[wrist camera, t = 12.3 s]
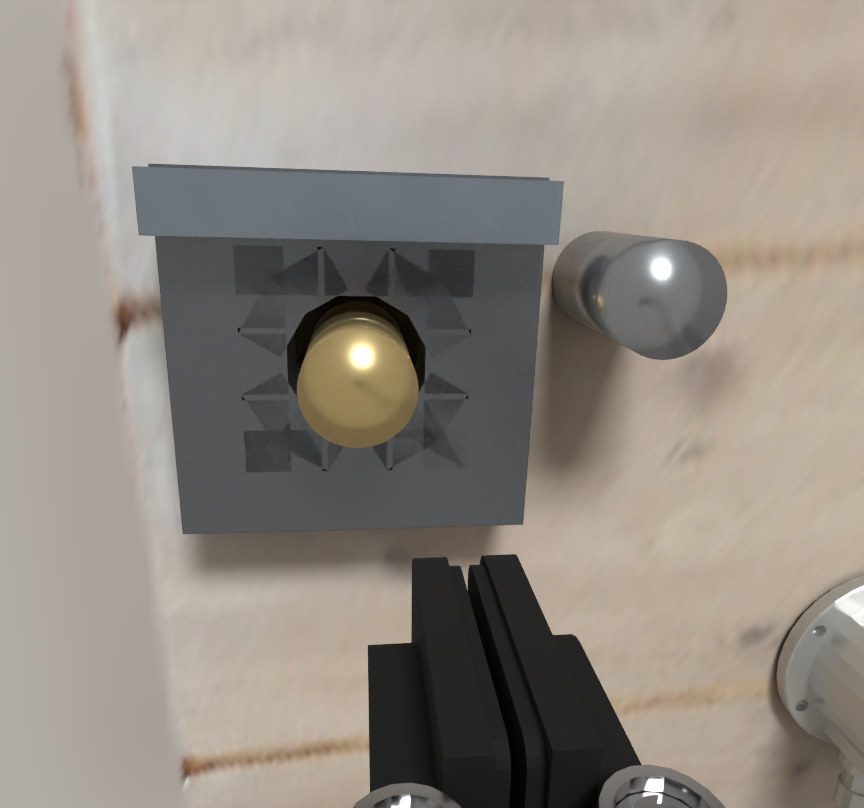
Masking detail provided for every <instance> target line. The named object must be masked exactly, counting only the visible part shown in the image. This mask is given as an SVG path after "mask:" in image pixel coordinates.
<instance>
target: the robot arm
mask: <svg viewBox="0 0 864 808" xmlns="http://www.w3.org/2000/svg"><path fill="white" fill-rule="evenodd" d="M776 677H777V686H778V693H779V695H780V698H781V701H782V703H783V705H784V707H785V708H786V710H787V711H788V712H789V714H790V715H791V716H792V718H793V719H794V720H795V721H796V722H797V723H798V724H799V725H800V726H801V727H802V728H803V730H805V731H806V732H808V733H809V734H811V735H812V736H814V737H815V738H818V739H821V740H824V741H826V742H829V743H834V744H835V745H836V746H837V747H838V748H839V749H840V752H839V762H840V763H841V765H842V767H843V771H842V773H841V774H840V775H839V777H838V781H837V785H836V789H835V792H834V796H833V799H834V803H835V805H836V806H837V807H838V808H864V575H862V576H859V577H856V578H853V579H850V580H849V581H847V582H845V583H843V584H841V585H839V586H837V587H835V588H833V589H832V590H831V591H829V592H828V593H826V594H825V595H824V596H822V597H821V598H819V599H818V600H817V601H816V602H815V603H814V604H813V605H812V606H811V607H810V608H809V609H808V610H807V611H806V612H804V613H803V615H802V616H801V617H800V619H799V620H798V621H797V623H796V624H795V625H794V627H793V628H792V630H791V632H790V633H789V635H788V637H787V639H786V641H785V643H784V645H783V648H782V651H781V654H780V657H779V660H778V667H777V676H776ZM368 681H369V747H370V793H369V794H368V795H366V796H365V797H364V798H362V799H361V800H359V801H358V802H357V803H356V804H355V805H354V806H353V808H725V806H724V805H723V804H722V803H721V802H720V801H719V800H718V799H717V798H716V797H715V796H714V795H713V794H712V793H711V792H710V791H709V790H708V789H707V788H706V787H704V786H703V785H701V784H700V783H698V782H697V781H695V780H694V779H692V778H691V777H689V776H687V775H684V774H682V773H680V772H677V771H675V770H672V769H670V768H665V767H660V766H654V765H641V763H640V761H639V759H638V757H637V755H636V753H635V751H634V749H633V747H632V745H631V743H630V741H629V739H628V737H627V735H626V733H625V731H624V729H623V727H622V725H621V723H620V721H619V719H618V717H617V715H616V713H615V711H614V709H613V707H612V705H611V703H610V701H609V699H608V697H607V695H606V693H605V691H604V689H603V687H602V685H601V683H600V681H599V679H598V677H597V675H596V673H595V671H594V669H593V667H592V665H591V663H590V661H589V659H588V658H587V656H586V654H585V652H584V650H583V648H582V646H581V644H580V642H579V640H578V639H577V637H576V636H574V635H572V634H569V635H552V633H551V630H550V628H549V626H548V624H547V621H546V619H545V617H544V615H543V613H542V610H541V608H540V606H539V604H538V601H537V599H536V597H535V595H534V592H533V590H532V588H531V586H530V584H529V581H528V579H527V577H526V575H525V572H524V570H523V568H522V566H521V563H520V561H519V559H518V557H517V555H515V554H512V555H487V556H482V557H481V560H480V565H470V566H469V571H468V591H467V588H466V584H465V581H464V577H463V573H462V570H461V567H460V566H449V563H448V560H447V557H437V558H413V561H412V643H401V644H383V645H368Z"/></svg>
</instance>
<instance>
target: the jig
mask: <svg viewBox="0 0 864 808" xmlns="http://www.w3.org/2000/svg"><path fill="white" fill-rule="evenodd" d="M148 166H149V167H134V166H132V171H133V181H134V191H135V201H136V211H137V221H138V231H139V235H146V236H155V240H156V251H157V262H158V273H159V283H160V294H161V305H162V315H163V326H164V337H165V347H166V358H167V369H168V379H169V390H170V401H171V412H172V422H173V433H174V444H175V454H176V465H177V476H178V486H179V497H180V508H181V519H182V529H183V534H205V533H240V532H276V531H311V530H347V529H382V528H418V527H453V526H488V525H523V518H524V505H525V492H526V479H527V466H528V453H529V440H530V427H531V413H532V400H533V387H534V374H535V361H536V348H537V335H538V322H539V309H540V296H541V283H542V270H543V256H544V245H559V233H560V221H561V209H562V196H563V184H564V181H549V178H539V177H510V176H482V175H454V174H425V173H397V172H368V171H340V170H311V169H283V168H254V167H226V166H197V165H169V164H148ZM336 296H376V297H378V298H380V299H381V300H383V301H385V302H386V303H388V304H390V305H391V306H393V307H395V308H396V309H398V310H400V311H401V312H403V313H405V314H407V315H408V316H409V318H410V320H411V322H412V323H413V325H414V327H415V329H416V331H417V362H416V364H415V365H414V369H415V372H416V375H417V380H418V390H419V392H418V400H417V405H416V408H415V411H414V413H413V415H412V417H411V419H410V420H409V422H408V423H407V425H406V426H405V427H404V428H403V429H402V430H401V431H400V432H399V433H398V434H397V435H395V436H394V437H393V438H391V439H389V440H388V441H386V442H384V443H381V444H378V445H375V446H371V447H366V448H350V447H344V446H340V445H337V444H334V443H332V442H330V441H328V440H326V439H325V438H323V437H321V436H320V435H319V434H318V433H316V432H315V431H314V430H313V429H312V428H311V427H310V425H309V424H308V423H307V421H306V420H305V418H304V416H303V414H302V412H301V409H300V407H299V403H298V398H297V382H298V376H299V373H300V370H301V369H300V367H299V365H298V364H297V362H296V347H295V331H296V329H297V327H298V325H299V324H300V322H301V320H302V318H303V317H304V315H305V314H306V313H308V312H310V311H312V310H313V309H315V308H317V307H319V306H320V305H322V304H324V303H326V302H327V301H329V300H331V299H333V298H335V297H336Z"/></svg>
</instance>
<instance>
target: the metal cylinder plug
mask: <svg viewBox="0 0 864 808" xmlns="http://www.w3.org/2000/svg"><path fill="white" fill-rule="evenodd" d="M552 285H553V292H554V296H555V298H556V301H557V303H558V305H559V306H560V307H561V309H562V310H563V311H564V312H565V313H566V314H567V315H568V316H570V317H571V318H573V319H575V320H576V321H578V322H580V323H582V324H584V325H586V326H588V327H590V328H591V329H593V330H595V331H597V332H599V333H601V334H603V335H604V336H606V337H608V338H610V339H612V340H614V341H616V342H617V343H619V344H621V345H623V346H625V347H627V348H629V349H630V350H632V351H634V352H636V353H638V354H640V355H642V356H645V357H647V358H651V359H658V360H667V359H674V358H678V357H681V356H684V355H686V354H688V353H691V352H692V351H694V350H695V349H697V348H698V347H700V346H701V345H702V344H703V343H704V342H705V341H706V340H707V339H709V337H710V336H711V335H712V334H713V332H714V331H715V329H716V328H717V326H718V325H719V323H720V321H721V319H722V316H723V313H724V310H725V306H726V301H727V284H726V279H725V275H724V272H723V270H722V268H721V265H720V264H719V262H718V261H717V259H716V258H715V257H714V256H713V255H712V254H711V253H710V252H709V251H708V250H707V249H705V248H703V247H702V246H700V245H698V244H695V243H692V242H688V241H682V240H674V239H665V238H657V237H648V236H640V235H632V234H623V233H615V232H606V231H595V232H590V233H587V234H584V235H582V236H579V237H578V238H576V239H575V240H573V241H572V242H571V243H569V244H568V245H567V246H566V248H565V249H564V250H563V251H562V253H561V254H560V256H559V258H558V259H557V262H556V264H555V267H554V271H553V277H552Z"/></svg>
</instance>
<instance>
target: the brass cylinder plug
mask: <svg viewBox="0 0 864 808" xmlns="http://www.w3.org/2000/svg"><path fill="white" fill-rule="evenodd" d="M418 392H419V390H418V380H417V375H416V372H415V369H414V366H413V363H412V361H411V358H410V355H409V352H408V349H407V347H406V344H405V341H404V338H403V335H402V333H401V330H400V328H399V326H398V324H397V322H396V321H395V319H394V318H393V317H392V316H391V315H390V314H389V313H388V312H387V311H385V310H384V309H383V308H381V307H379V306H377V305H375V304H372V303H369V302H364V301H350V302H345V303H342V304H339V305H337V306H335V307H333V308H331V309H330V310H328V311H327V312H326V313H325V314H324V315H323V316H322V317H321V318H320V320H319V321H318V323H317V324H316V326H315V328H314V331H313V334H312V337H311V340H310V343H309V346H308V349H307V352H306V355H305V358H304V361H303V364H302V367H301V370H300V373H299V376H298V382H297V398H298V403H299V407H300V409H301V412H302V414H303V416H304V418H305V420H306V421H307V423H308V424H309V425H310V427H311V428H312V429H313V430H314V431H315V432H316V433H318V434H319V435H320V436H321V437H323V438H325V439H326V440H328V441H330V442H332V443H334V444H337V445H340V446H344V447H350V448H366V447H371V446H375V445H378V444H381V443H384V442H386V441H388V440H389V439H391V438H393V437H394V436H395V435H397V434H398V433H399V432H400V431H401V430H402V429H403V428H404V427H405V426H406V425H407V423H408V422H409V420H410V419H411V417H412V415H413V413H414V411H415V408H416V405H417V400H418Z"/></svg>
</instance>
